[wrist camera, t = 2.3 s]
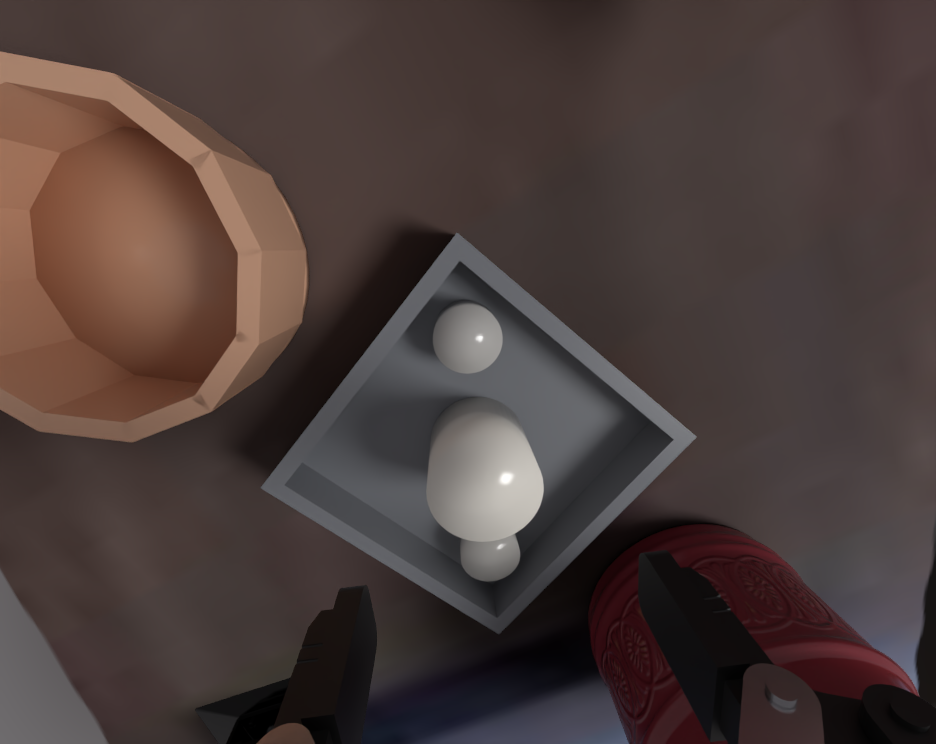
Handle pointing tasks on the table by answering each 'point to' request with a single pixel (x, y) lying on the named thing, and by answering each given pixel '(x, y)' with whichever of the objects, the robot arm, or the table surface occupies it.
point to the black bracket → (244, 714)
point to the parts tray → (437, 387)
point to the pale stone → (482, 471)
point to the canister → (753, 602)
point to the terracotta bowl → (132, 257)
